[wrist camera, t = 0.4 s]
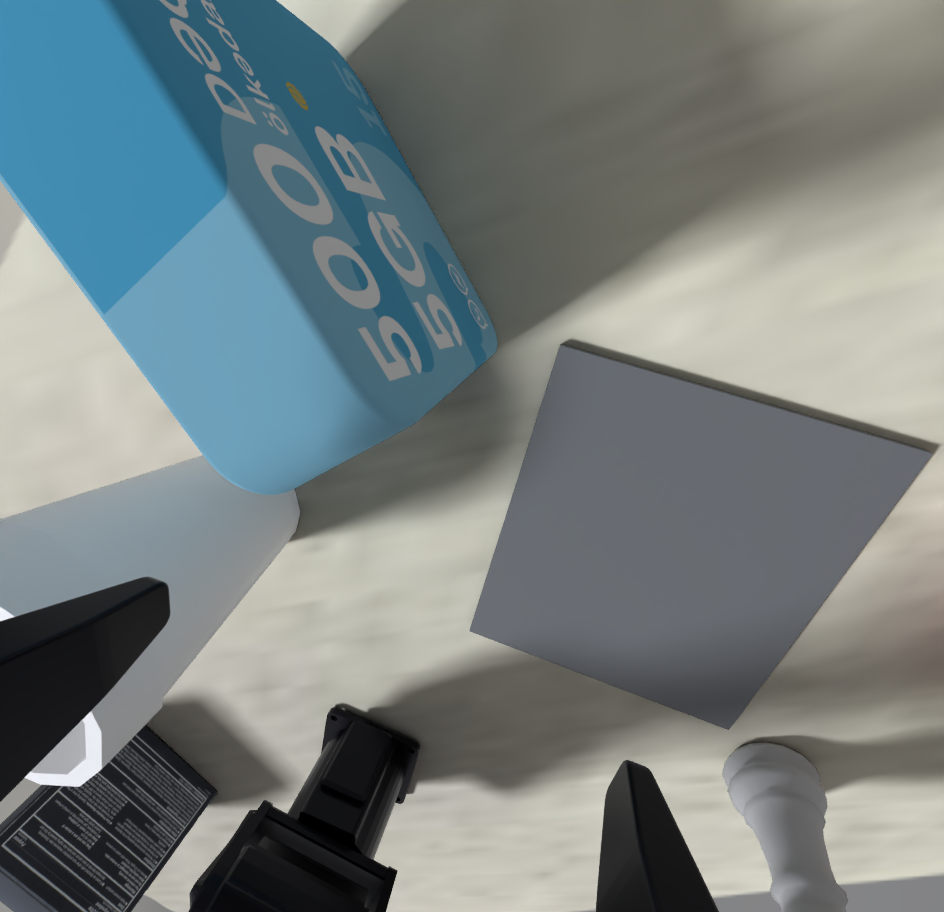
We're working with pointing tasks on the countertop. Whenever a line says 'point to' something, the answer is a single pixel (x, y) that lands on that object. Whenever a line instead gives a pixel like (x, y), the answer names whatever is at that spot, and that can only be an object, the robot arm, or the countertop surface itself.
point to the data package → (237, 225)
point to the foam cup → (135, 556)
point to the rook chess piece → (786, 823)
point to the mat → (679, 532)
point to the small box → (101, 832)
